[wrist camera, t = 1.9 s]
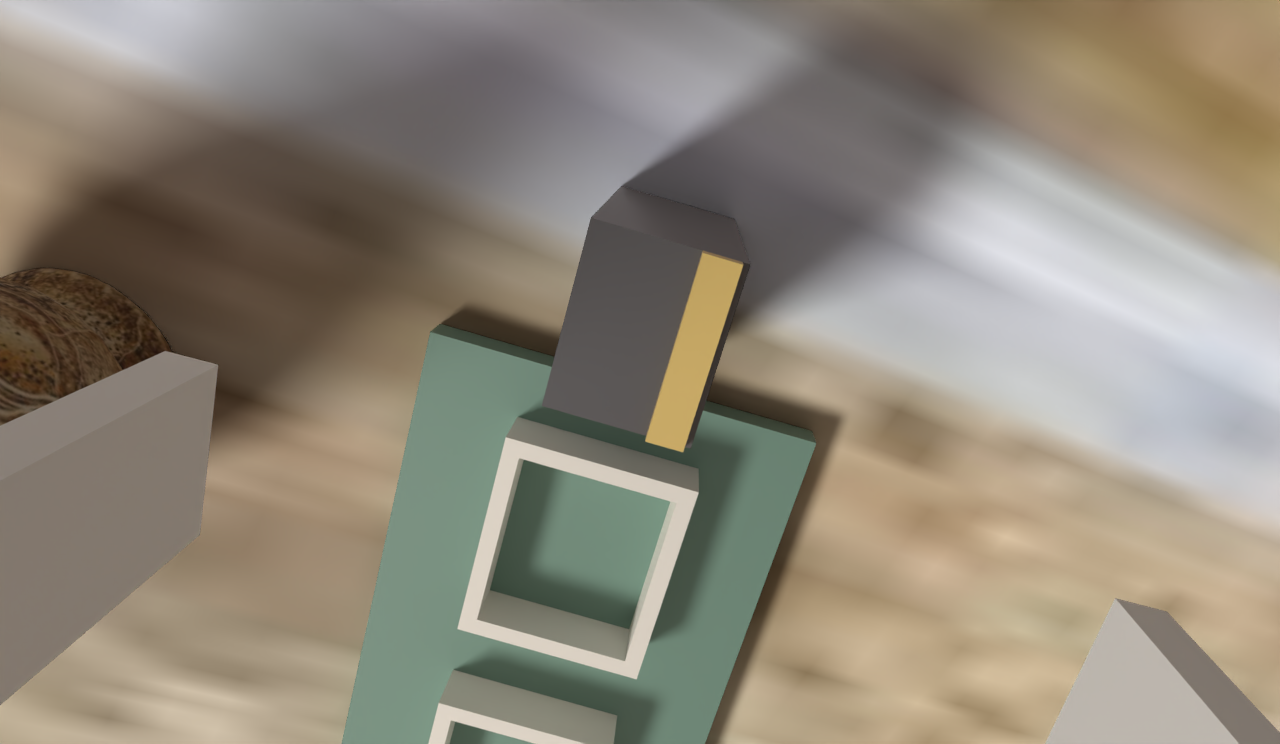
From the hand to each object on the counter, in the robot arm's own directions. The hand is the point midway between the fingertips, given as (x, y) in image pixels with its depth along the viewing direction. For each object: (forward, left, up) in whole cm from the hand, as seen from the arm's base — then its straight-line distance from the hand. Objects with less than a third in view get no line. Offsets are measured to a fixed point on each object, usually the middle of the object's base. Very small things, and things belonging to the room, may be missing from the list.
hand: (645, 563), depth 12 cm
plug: (-1, -1, -19) cm, 19 cm away
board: (+15, -1, -19) cm, 24 cm away
